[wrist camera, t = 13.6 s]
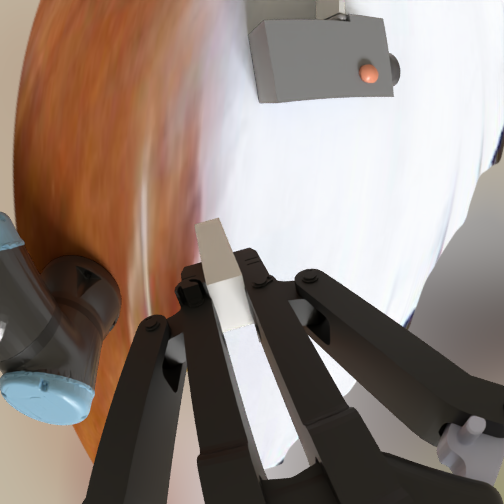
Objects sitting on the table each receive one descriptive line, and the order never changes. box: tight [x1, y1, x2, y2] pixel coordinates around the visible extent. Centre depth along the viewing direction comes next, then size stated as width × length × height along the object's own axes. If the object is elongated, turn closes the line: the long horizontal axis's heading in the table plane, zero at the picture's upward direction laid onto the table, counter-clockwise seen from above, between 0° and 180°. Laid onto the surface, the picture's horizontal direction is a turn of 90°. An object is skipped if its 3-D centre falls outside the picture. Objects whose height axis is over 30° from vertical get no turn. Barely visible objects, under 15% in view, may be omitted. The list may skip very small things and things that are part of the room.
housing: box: [248, 14, 400, 103], centre depth 31 cm, size 19×11×9 cm, turn 99°
